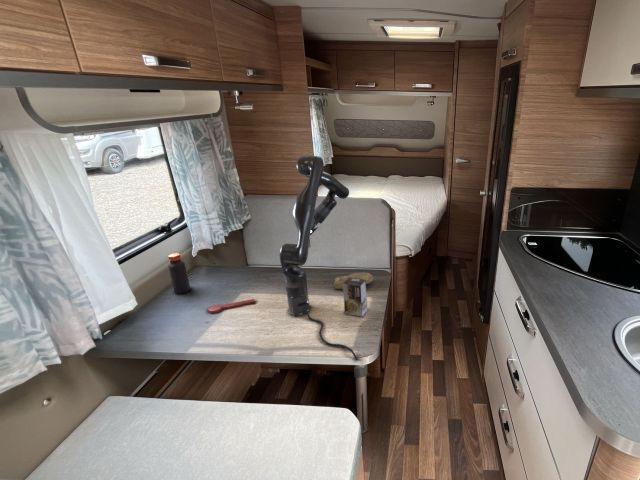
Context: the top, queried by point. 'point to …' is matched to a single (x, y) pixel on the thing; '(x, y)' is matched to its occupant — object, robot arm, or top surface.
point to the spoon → (228, 306)
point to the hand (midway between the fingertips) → (301, 236)
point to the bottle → (178, 274)
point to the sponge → (342, 279)
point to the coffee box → (355, 296)
